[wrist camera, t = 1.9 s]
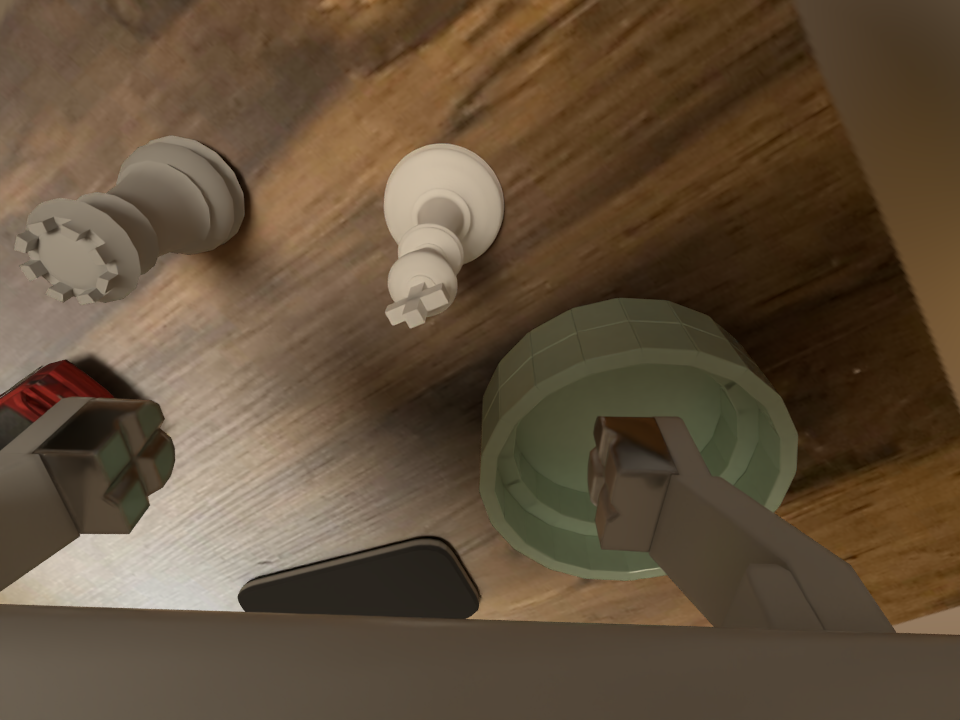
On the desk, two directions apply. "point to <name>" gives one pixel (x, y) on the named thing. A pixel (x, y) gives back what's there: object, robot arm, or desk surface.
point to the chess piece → (437, 226)
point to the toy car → (43, 396)
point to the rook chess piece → (133, 222)
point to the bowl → (620, 392)
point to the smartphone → (371, 585)
